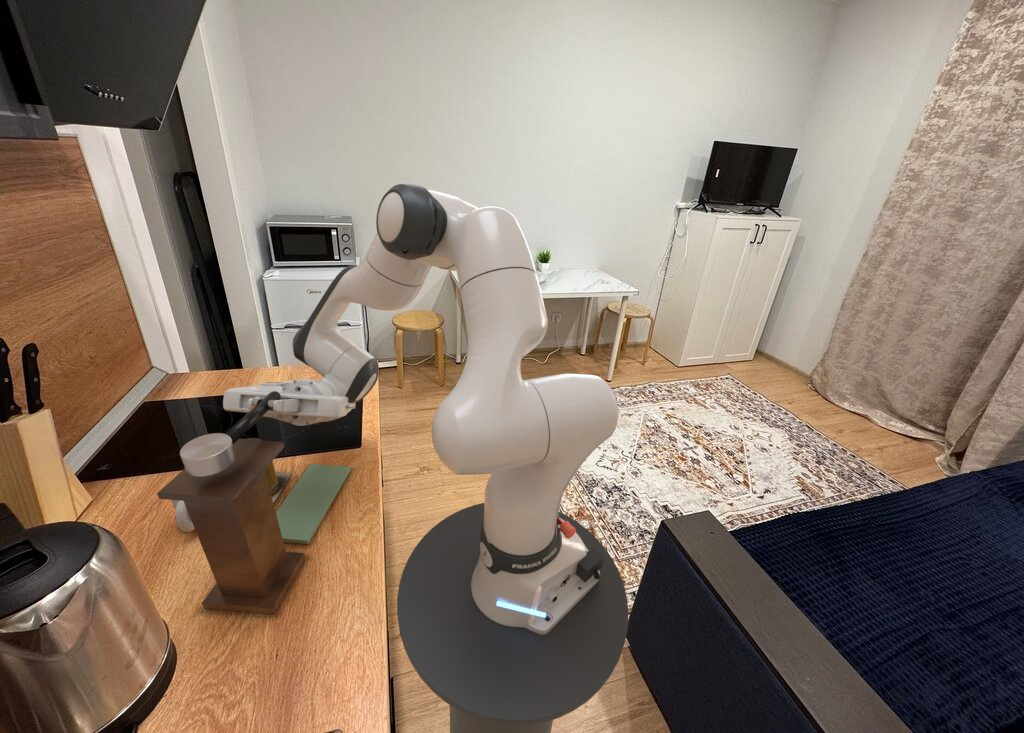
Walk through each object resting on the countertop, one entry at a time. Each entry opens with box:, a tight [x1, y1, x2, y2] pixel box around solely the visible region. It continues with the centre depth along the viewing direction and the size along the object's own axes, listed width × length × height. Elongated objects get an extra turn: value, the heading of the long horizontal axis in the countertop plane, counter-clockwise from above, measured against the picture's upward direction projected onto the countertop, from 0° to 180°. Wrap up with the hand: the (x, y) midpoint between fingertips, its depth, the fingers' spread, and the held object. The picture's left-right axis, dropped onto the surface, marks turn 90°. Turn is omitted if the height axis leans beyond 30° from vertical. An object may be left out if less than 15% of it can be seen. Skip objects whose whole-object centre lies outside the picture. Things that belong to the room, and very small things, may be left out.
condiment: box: [249, 437, 292, 504], centre depth 84 cm, size 7×8×12 cm
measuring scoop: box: [179, 391, 281, 477], centre depth 61 cm, size 19×6×3 cm, turn 178°
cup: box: [170, 500, 195, 533], centre depth 77 cm, size 7×10×9 cm
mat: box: [275, 463, 352, 545], centre depth 84 cm, size 20×9×1 cm, turn 178°
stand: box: [156, 438, 306, 615], centre depth 64 cm, size 12×11×24 cm
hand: (261, 405), depth 66 cm, fingers closed on measuring scoop, 2 cm apart
